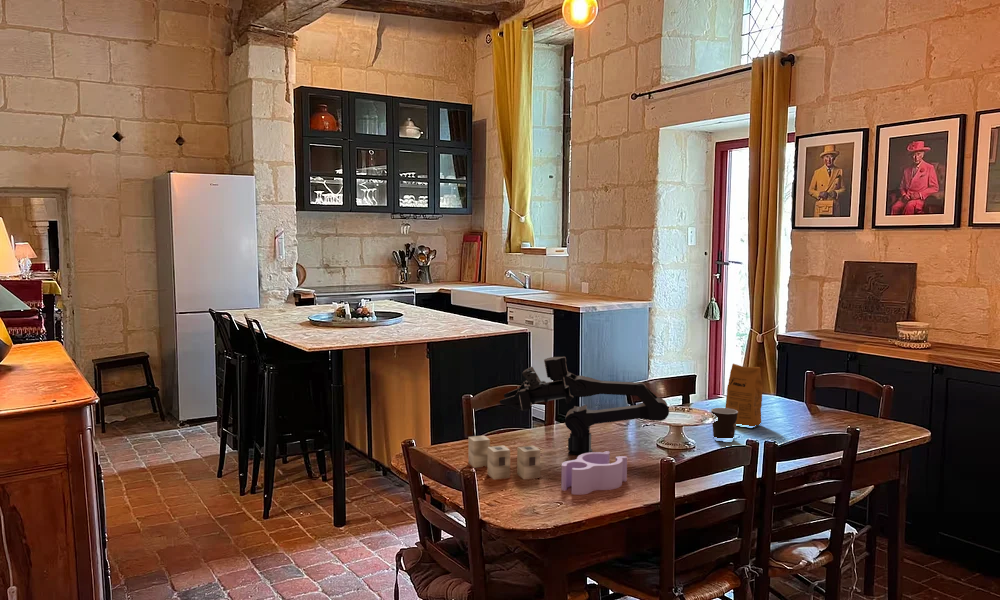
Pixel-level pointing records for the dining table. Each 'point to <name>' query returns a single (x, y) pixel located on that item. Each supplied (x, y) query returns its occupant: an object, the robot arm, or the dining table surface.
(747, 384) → the coffee package
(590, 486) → the clip
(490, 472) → the marked block 1
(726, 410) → the coffee mug
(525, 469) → the marked block 2
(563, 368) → the robot arm
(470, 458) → the plain block
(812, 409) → the dining table surface
